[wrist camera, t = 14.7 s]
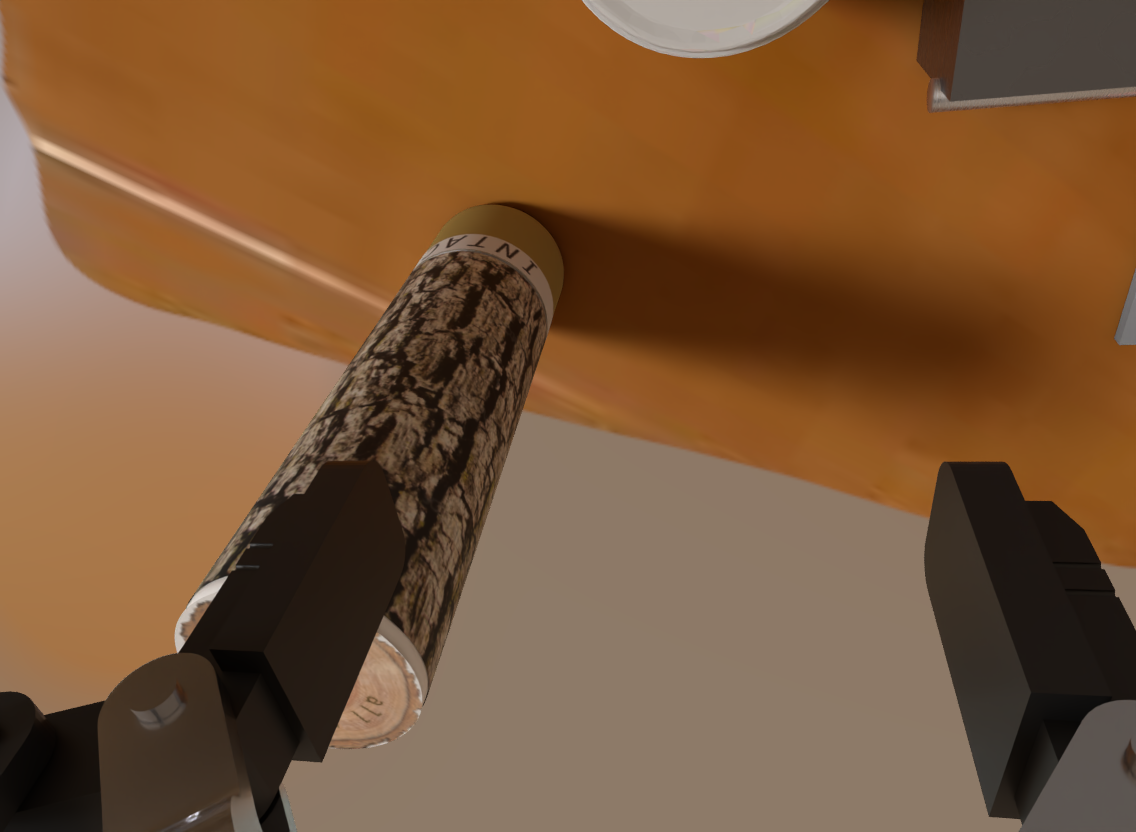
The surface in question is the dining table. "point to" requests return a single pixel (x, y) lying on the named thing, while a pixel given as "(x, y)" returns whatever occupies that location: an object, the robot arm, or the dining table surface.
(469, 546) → the bark print canister
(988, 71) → the dispenser
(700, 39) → the coffee cup
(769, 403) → the dining table surface
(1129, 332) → the mat
